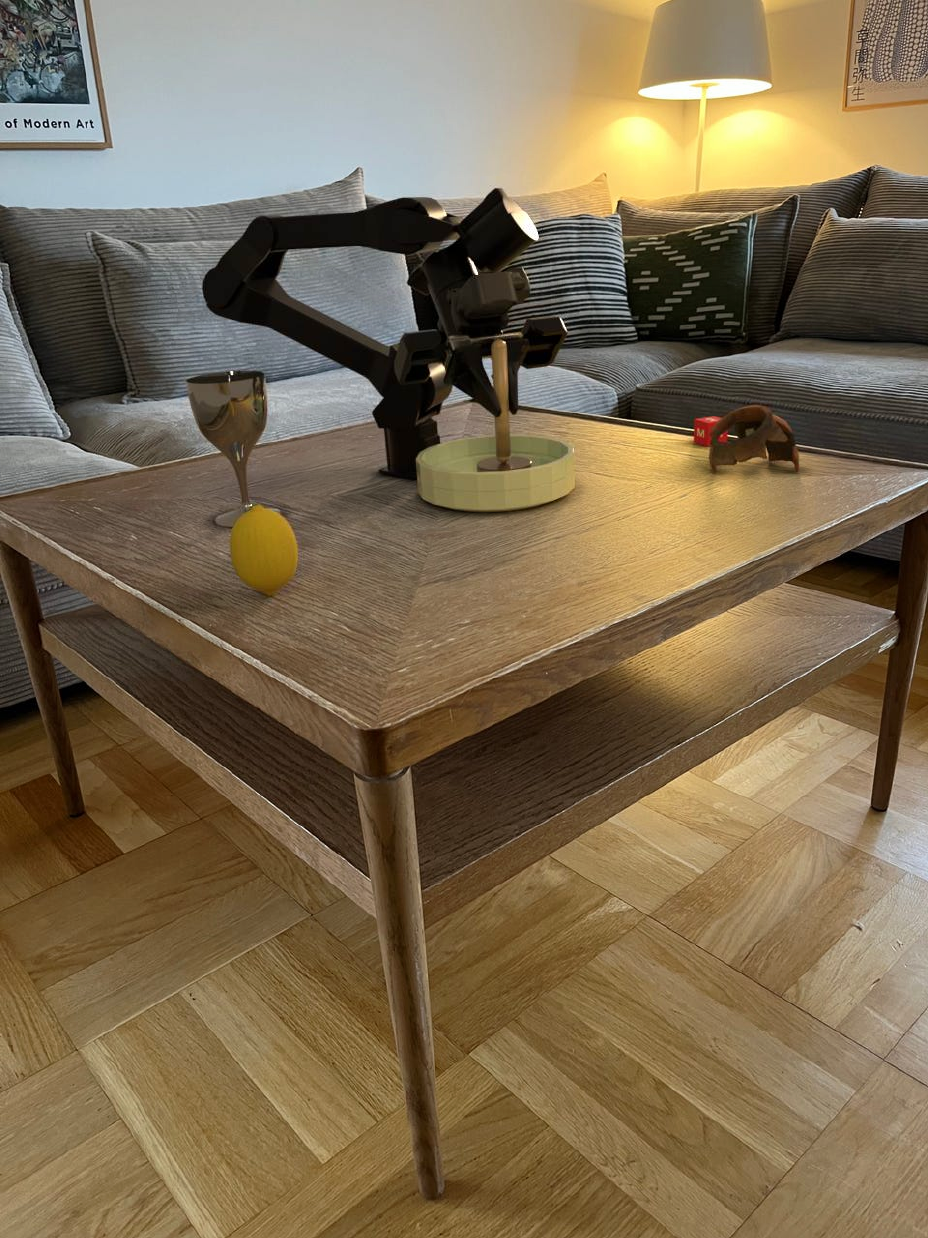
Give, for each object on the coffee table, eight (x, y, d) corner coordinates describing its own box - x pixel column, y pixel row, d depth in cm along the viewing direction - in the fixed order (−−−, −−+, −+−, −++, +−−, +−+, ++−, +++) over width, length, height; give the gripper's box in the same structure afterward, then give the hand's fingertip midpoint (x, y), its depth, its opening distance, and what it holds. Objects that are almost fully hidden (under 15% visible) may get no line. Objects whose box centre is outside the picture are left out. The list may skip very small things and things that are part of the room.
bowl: (387, 500, 102) (383, 461, 100) (487, 465, 114) (485, 429, 112) (508, 525, 91) (506, 481, 90) (605, 483, 103) (605, 444, 101)
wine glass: (297, 507, 102) (278, 370, 96) (261, 529, 95) (237, 383, 89) (236, 504, 104) (214, 370, 98) (196, 526, 98) (169, 384, 92)
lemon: (243, 586, 80) (227, 498, 77) (306, 580, 81) (293, 493, 77) (233, 610, 75) (217, 518, 72) (301, 604, 76) (287, 512, 72)
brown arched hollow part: (815, 482, 100) (789, 423, 96) (732, 518, 103) (704, 462, 99) (790, 431, 109) (766, 374, 105) (715, 465, 113) (689, 412, 108)
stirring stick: (467, 485, 100) (459, 343, 93) (492, 471, 104) (486, 335, 98) (517, 490, 97) (512, 344, 91) (540, 475, 102) (537, 335, 95)
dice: (693, 442, 118) (694, 418, 117) (713, 439, 119) (714, 415, 118) (707, 446, 115) (708, 423, 114) (727, 443, 116) (728, 419, 115)
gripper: (392, 249, 91) (442, 376, 86) (557, 236, 97) (612, 353, 92) (375, 325, 101) (419, 443, 96) (526, 309, 107) (574, 418, 102)
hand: (507, 413), depth 96 cm, fingers closed on stirring stick
